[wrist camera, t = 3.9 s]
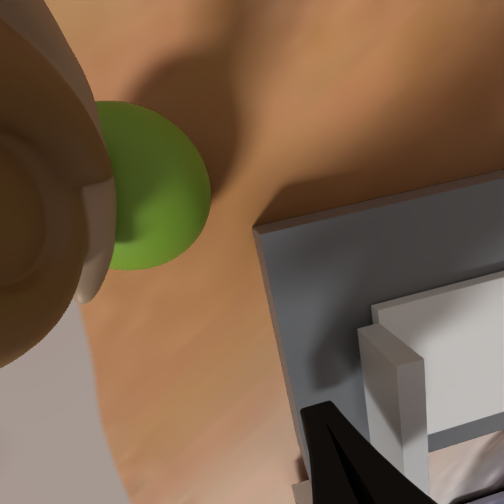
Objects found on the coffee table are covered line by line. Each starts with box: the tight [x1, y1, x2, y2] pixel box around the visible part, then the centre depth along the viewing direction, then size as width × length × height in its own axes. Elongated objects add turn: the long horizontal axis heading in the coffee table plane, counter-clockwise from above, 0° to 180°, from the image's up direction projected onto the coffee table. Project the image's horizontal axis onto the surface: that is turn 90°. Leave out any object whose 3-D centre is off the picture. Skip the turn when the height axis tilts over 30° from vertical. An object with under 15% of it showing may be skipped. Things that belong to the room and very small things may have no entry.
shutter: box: [357, 271, 504, 495], centre depth 11 cm, size 8×9×3 cm
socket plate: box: [252, 170, 504, 487], centre depth 13 cm, size 14×22×2 cm, turn 102°
